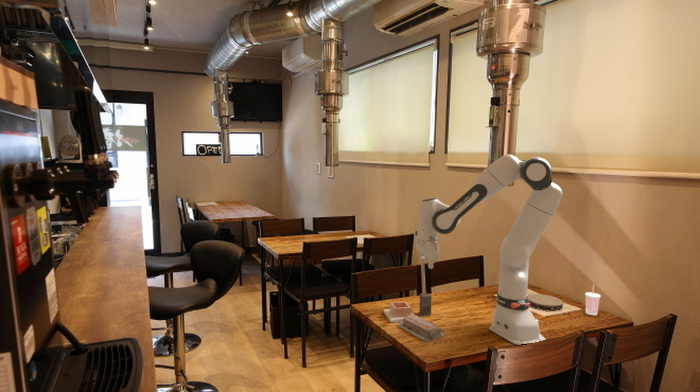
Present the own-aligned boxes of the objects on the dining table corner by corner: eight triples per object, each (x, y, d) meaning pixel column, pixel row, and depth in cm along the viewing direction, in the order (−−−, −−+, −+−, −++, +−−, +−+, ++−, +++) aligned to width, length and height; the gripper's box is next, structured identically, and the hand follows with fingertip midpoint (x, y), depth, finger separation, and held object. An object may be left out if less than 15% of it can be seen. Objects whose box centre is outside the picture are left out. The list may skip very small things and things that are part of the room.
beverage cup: (584, 314, 188) (586, 284, 186) (583, 310, 193) (585, 281, 192) (599, 317, 185) (602, 286, 184) (598, 312, 190) (600, 283, 189)
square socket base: (417, 320, 177) (418, 309, 177) (390, 322, 175) (391, 310, 175) (408, 310, 189) (409, 299, 188) (383, 311, 187) (383, 300, 186)
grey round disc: (562, 303, 203) (562, 297, 202) (562, 314, 189) (563, 307, 188) (527, 297, 210) (527, 292, 209) (525, 307, 195) (525, 301, 195)
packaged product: (445, 326, 162) (426, 331, 157) (445, 337, 162) (426, 343, 157) (415, 311, 177) (397, 315, 172) (415, 321, 178) (396, 326, 172)
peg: (430, 315, 184) (431, 296, 183) (422, 316, 183) (423, 296, 182) (427, 312, 187) (428, 293, 187) (419, 312, 187) (419, 293, 186)
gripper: (443, 239, 172) (442, 271, 173) (426, 230, 192) (425, 259, 193) (429, 239, 171) (428, 272, 172) (413, 230, 191) (412, 259, 192)
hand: (426, 265), depth 183 cm, fingers open, 8 cm apart
